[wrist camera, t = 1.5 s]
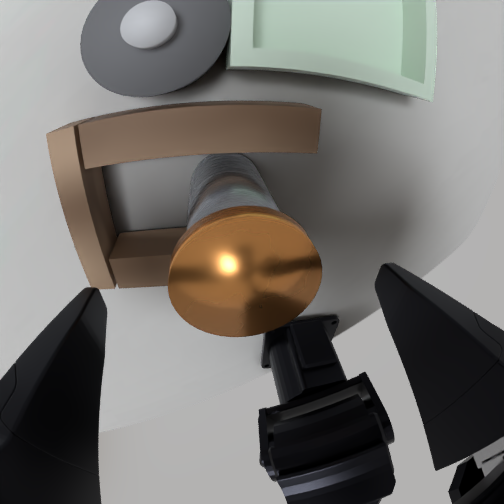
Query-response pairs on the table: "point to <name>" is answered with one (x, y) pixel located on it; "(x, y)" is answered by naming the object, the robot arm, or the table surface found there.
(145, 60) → the pulley
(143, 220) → the table surface
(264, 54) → the tray
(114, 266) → the brown u-shaped piece
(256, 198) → the pin
